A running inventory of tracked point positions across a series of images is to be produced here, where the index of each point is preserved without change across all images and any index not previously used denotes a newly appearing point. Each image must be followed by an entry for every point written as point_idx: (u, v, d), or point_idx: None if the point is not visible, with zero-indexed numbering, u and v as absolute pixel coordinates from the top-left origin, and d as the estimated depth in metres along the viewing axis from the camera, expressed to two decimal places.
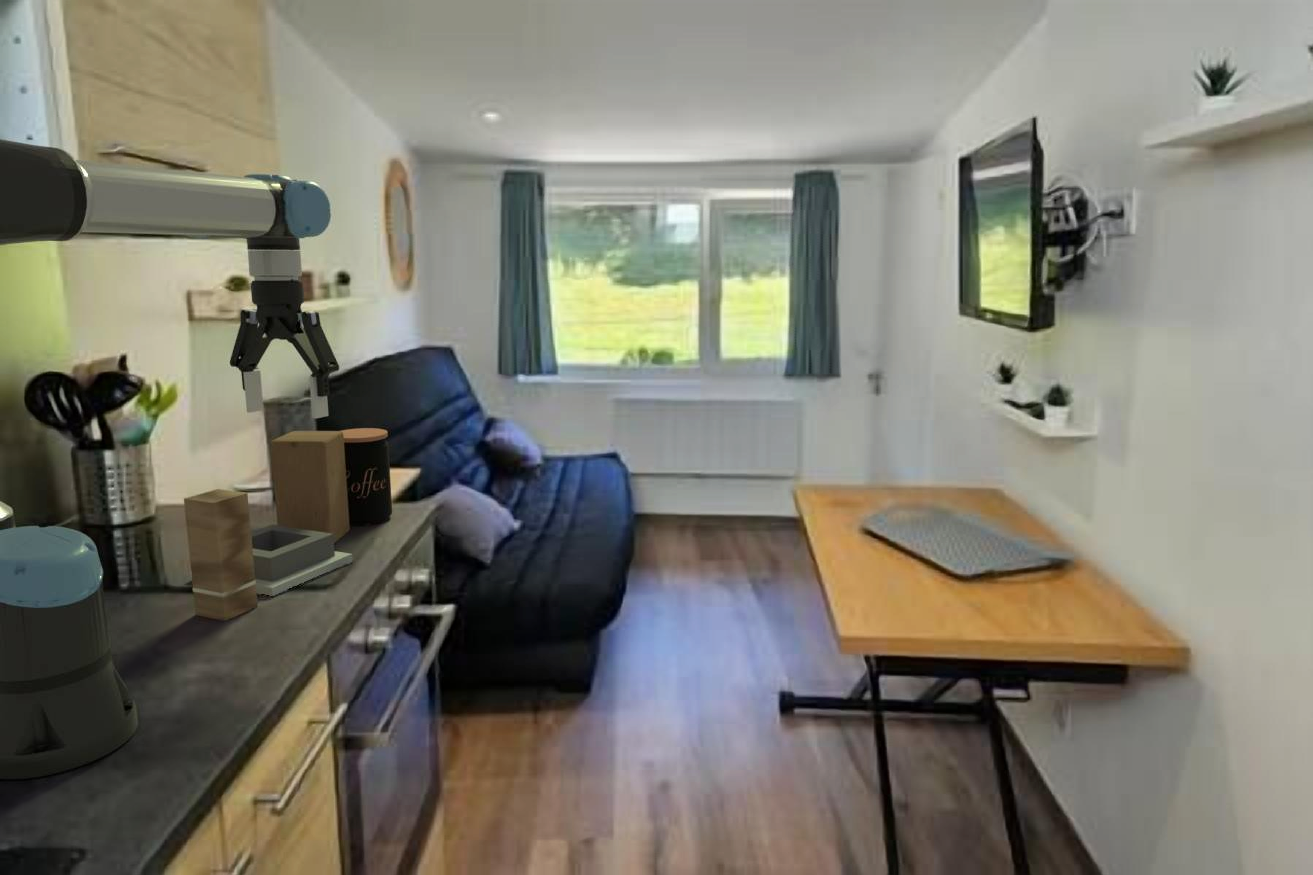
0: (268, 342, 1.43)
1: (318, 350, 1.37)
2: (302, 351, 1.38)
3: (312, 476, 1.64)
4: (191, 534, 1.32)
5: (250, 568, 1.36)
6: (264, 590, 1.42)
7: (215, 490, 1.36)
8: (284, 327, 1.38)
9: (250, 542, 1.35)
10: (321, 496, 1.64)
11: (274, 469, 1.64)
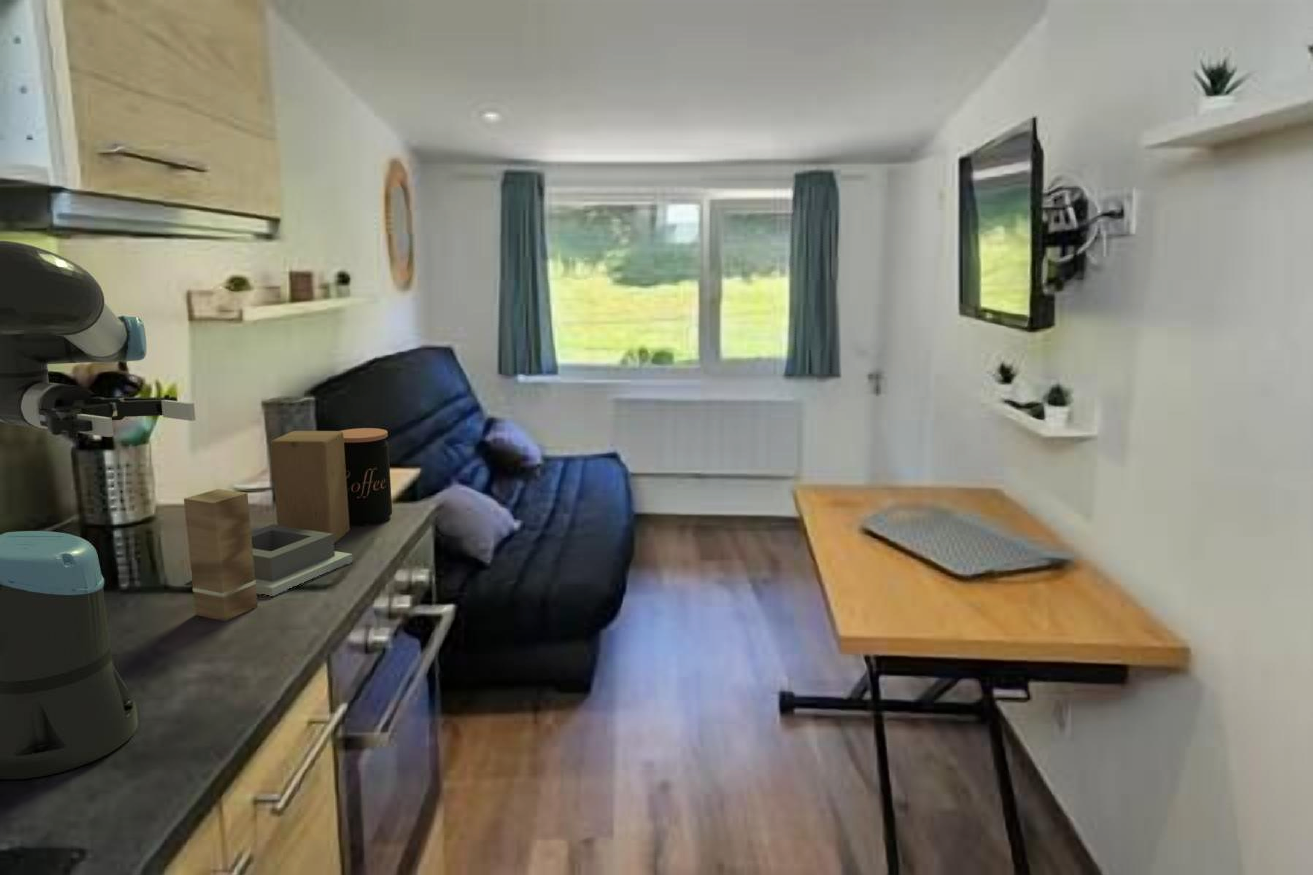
0: None
1: (155, 397, 1.47)
2: (138, 400, 1.44)
3: (312, 476, 1.64)
4: (191, 534, 1.32)
5: (250, 568, 1.36)
6: (264, 590, 1.42)
7: (215, 490, 1.36)
8: (106, 398, 1.43)
9: (250, 542, 1.35)
10: (321, 496, 1.64)
11: (274, 469, 1.64)
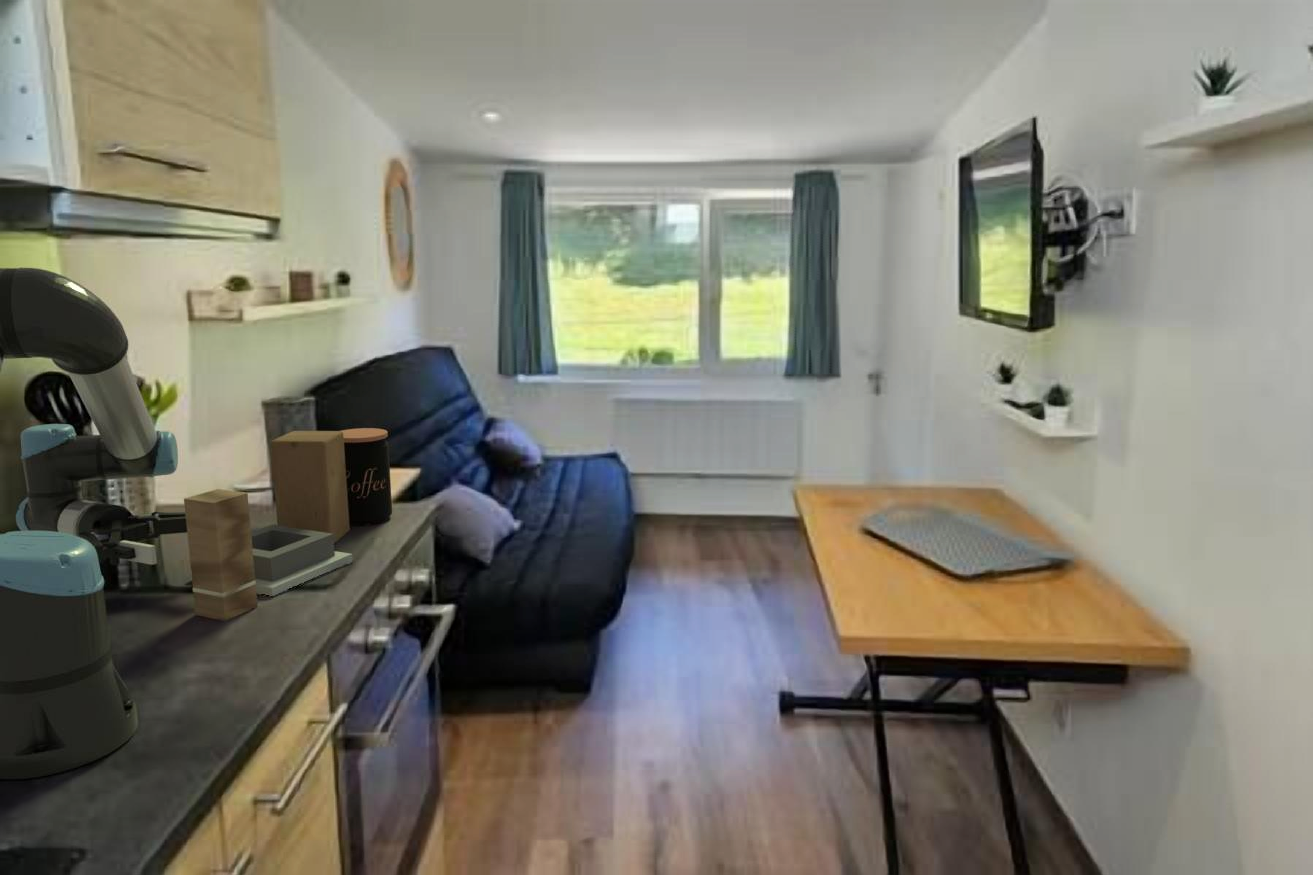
0: None
1: None
2: (174, 517, 1.46)
3: (312, 476, 1.64)
4: (191, 534, 1.32)
5: (250, 568, 1.36)
6: (264, 590, 1.42)
7: (215, 490, 1.36)
8: None
9: (250, 542, 1.35)
10: (321, 496, 1.64)
11: (274, 469, 1.64)
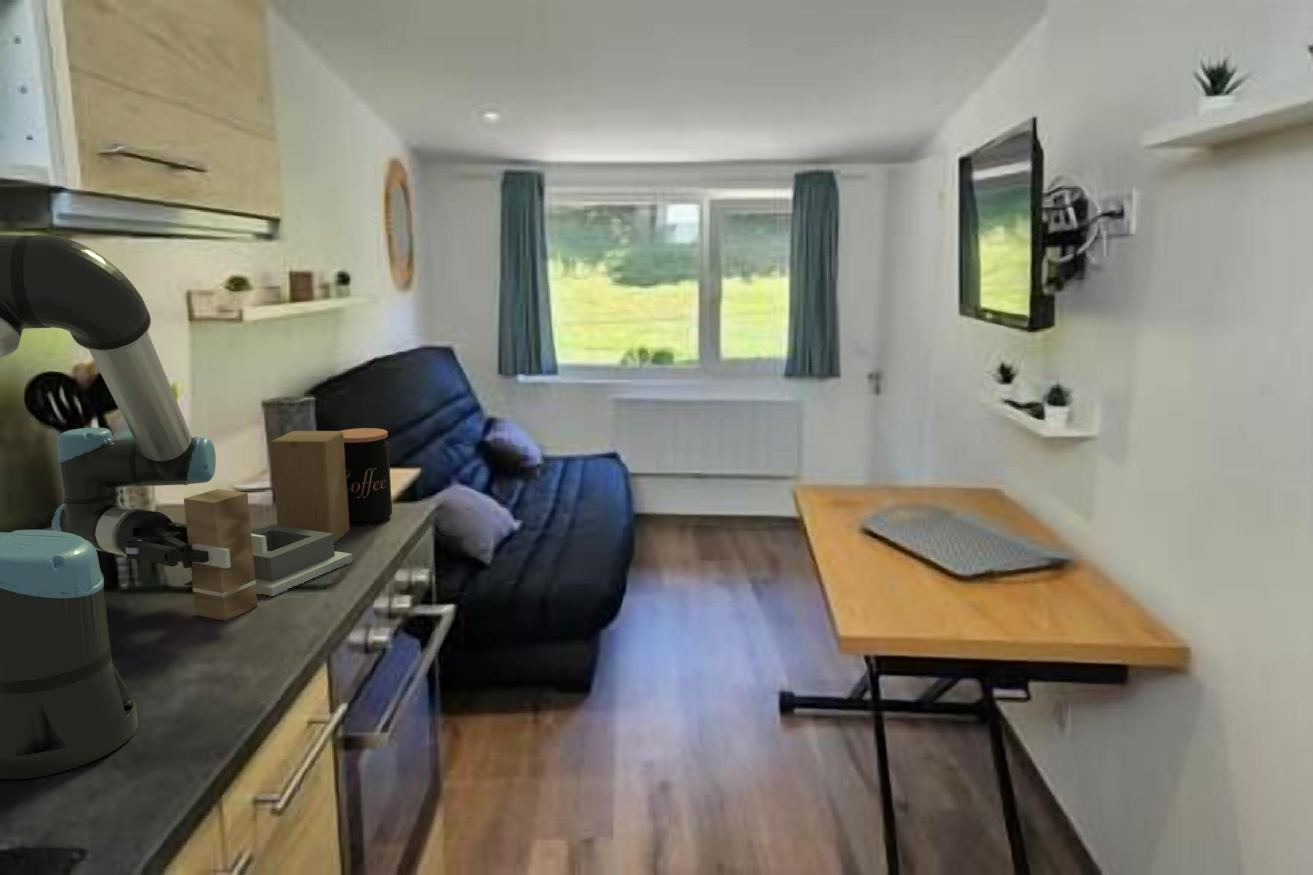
0: None
1: None
2: None
3: (312, 476, 1.64)
4: (191, 534, 1.32)
5: (250, 568, 1.36)
6: (264, 590, 1.42)
7: (215, 490, 1.36)
8: (182, 524, 1.40)
9: (250, 542, 1.35)
10: (321, 496, 1.64)
11: (274, 469, 1.64)
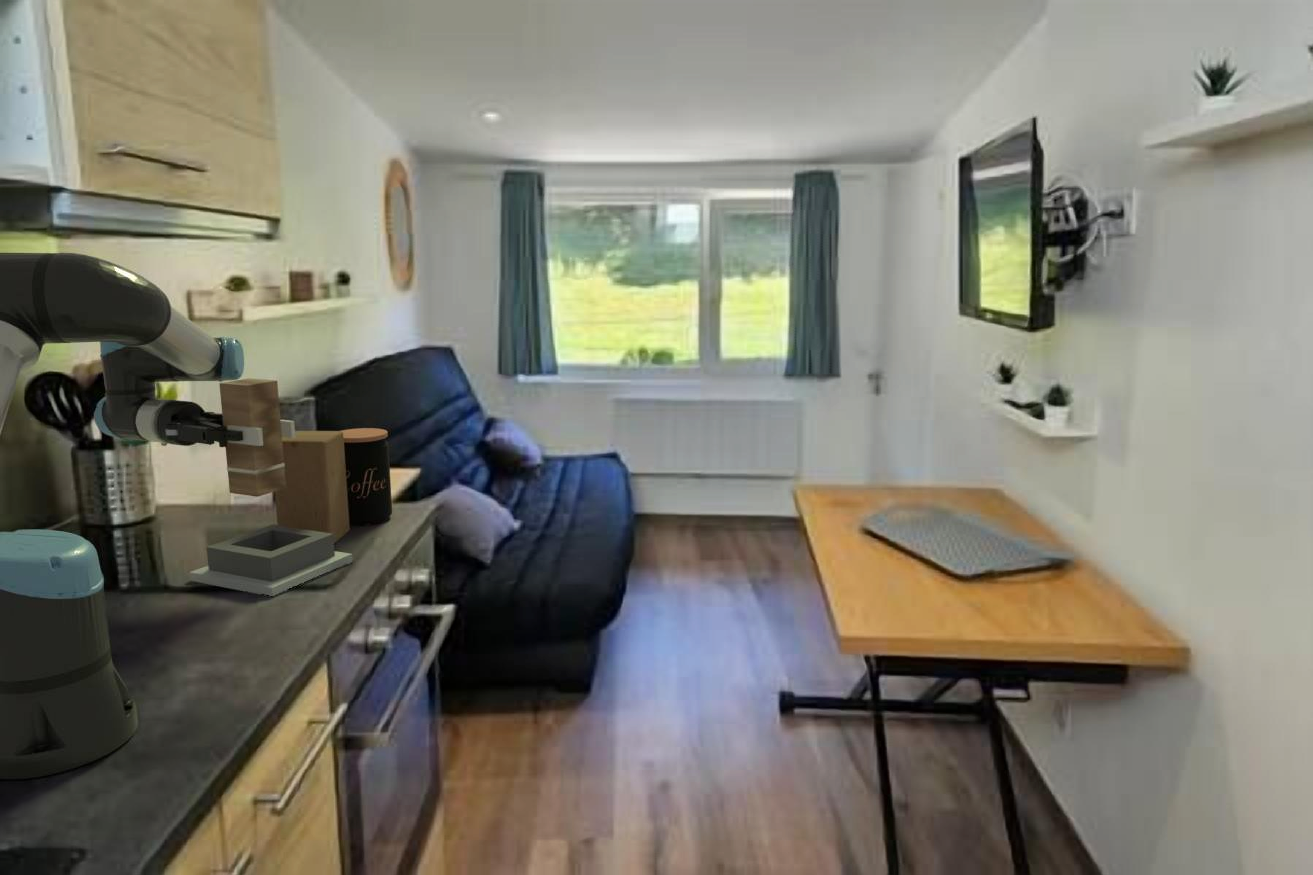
0: None
1: None
2: None
3: (312, 476, 1.64)
4: (225, 417, 1.43)
5: (279, 451, 1.47)
6: (264, 590, 1.42)
7: (247, 379, 1.47)
8: (216, 413, 1.51)
9: (279, 427, 1.47)
10: (321, 496, 1.64)
11: None
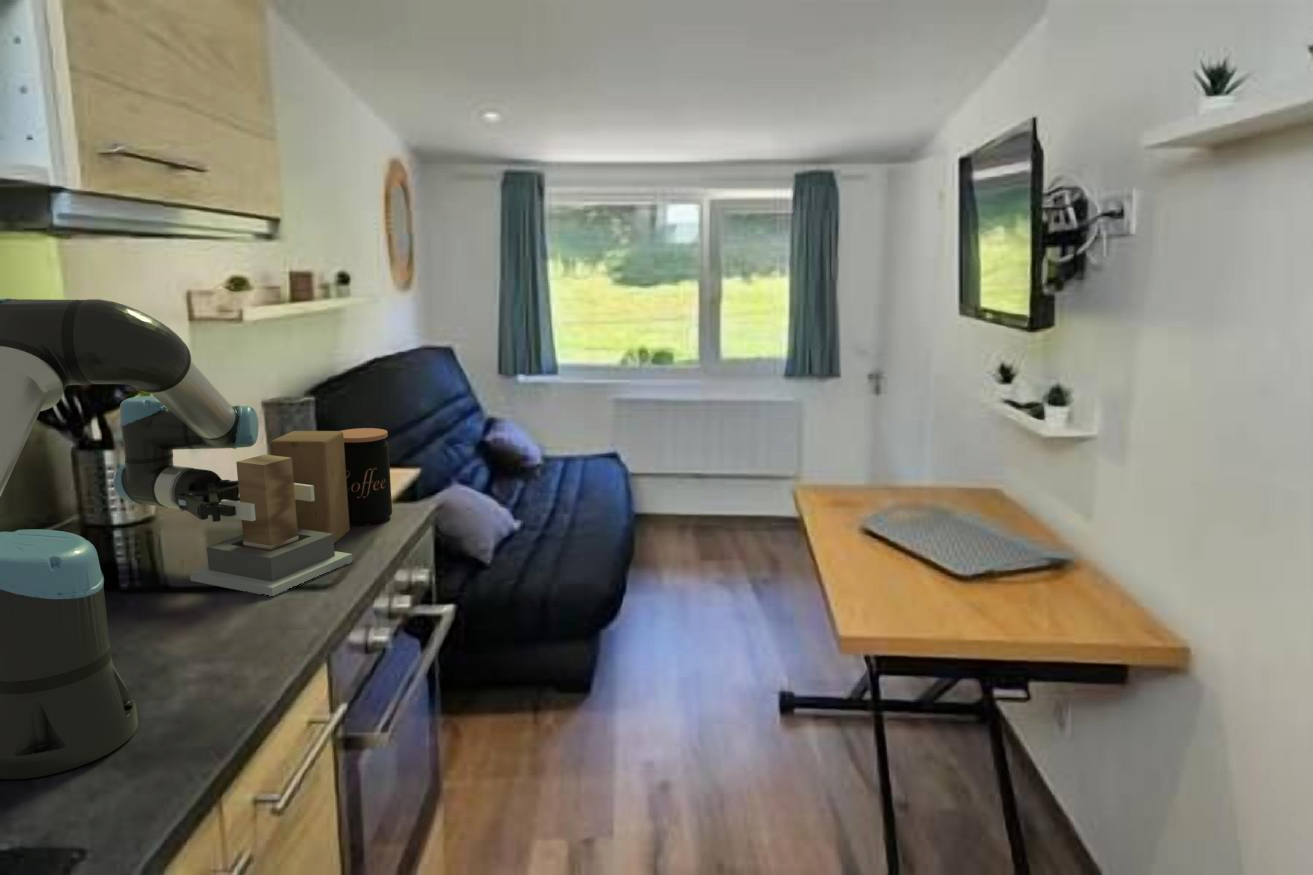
0: None
1: None
2: None
3: (312, 476, 1.64)
4: (242, 494, 1.49)
5: (293, 525, 1.53)
6: (264, 590, 1.42)
7: (262, 455, 1.52)
8: (232, 481, 1.57)
9: (294, 501, 1.52)
10: (321, 496, 1.64)
11: None
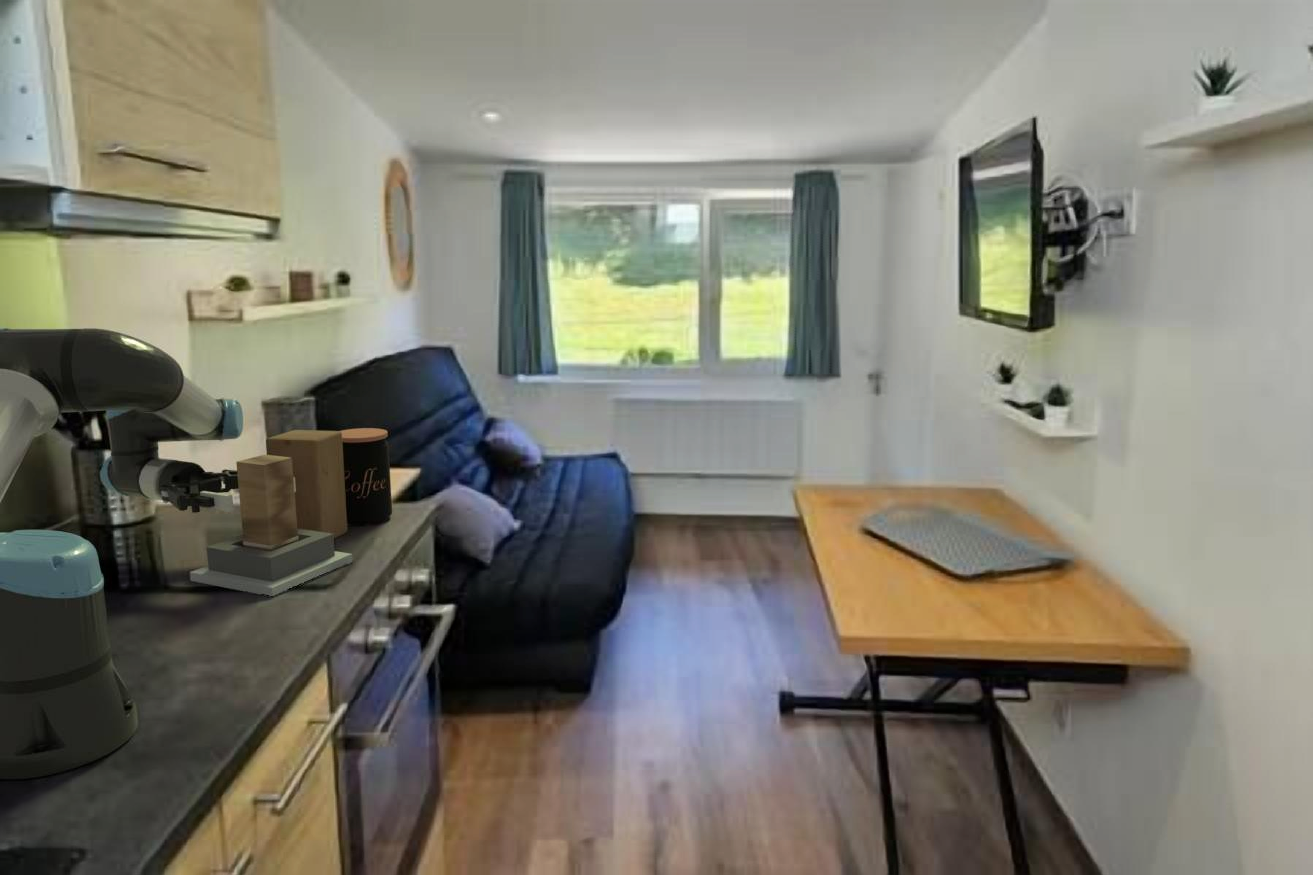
0: None
1: None
2: None
3: (304, 475, 1.63)
4: (242, 494, 1.49)
5: (293, 525, 1.53)
6: (264, 590, 1.42)
7: (262, 455, 1.52)
8: (215, 473, 1.60)
9: (294, 501, 1.52)
10: (313, 495, 1.64)
11: None
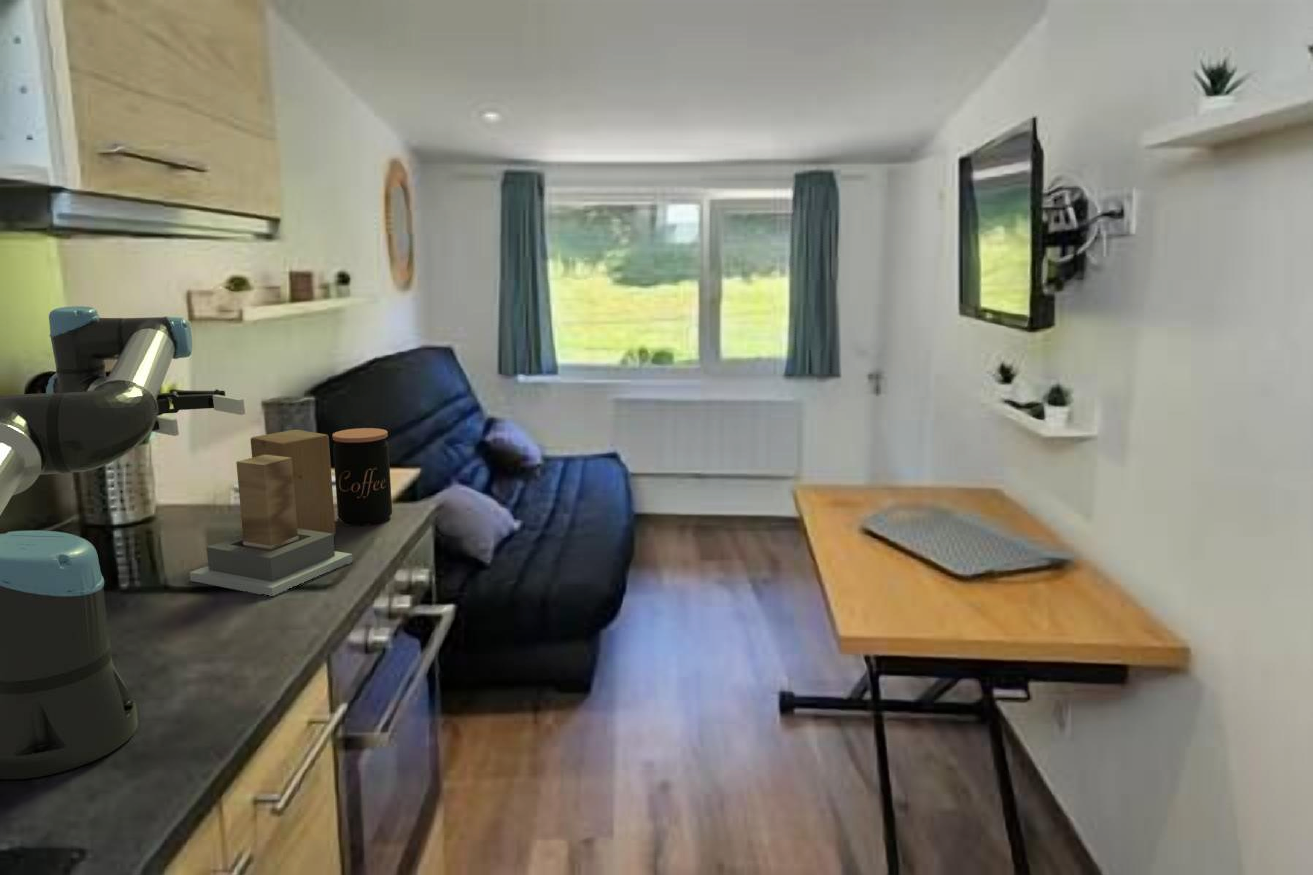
0: None
1: (205, 391, 1.63)
2: (191, 395, 1.60)
3: None
4: (242, 494, 1.49)
5: (293, 525, 1.53)
6: (264, 590, 1.42)
7: (262, 455, 1.52)
8: (163, 393, 1.59)
9: (294, 501, 1.52)
10: None
11: None
